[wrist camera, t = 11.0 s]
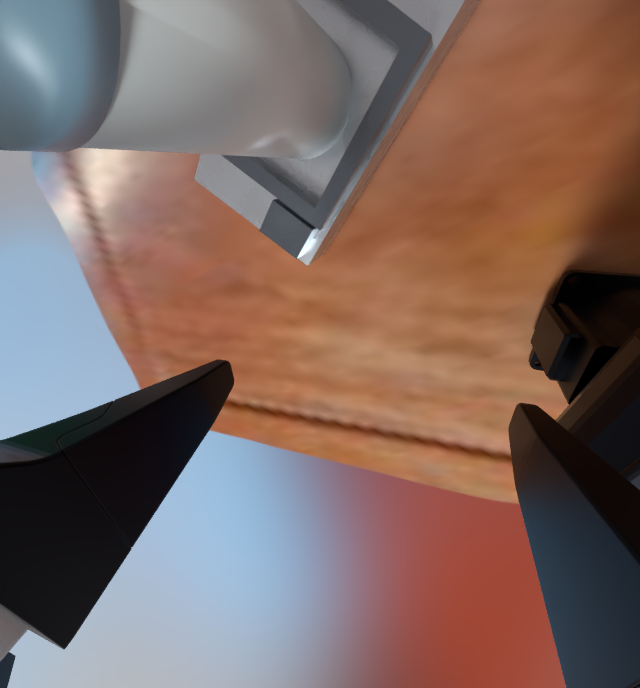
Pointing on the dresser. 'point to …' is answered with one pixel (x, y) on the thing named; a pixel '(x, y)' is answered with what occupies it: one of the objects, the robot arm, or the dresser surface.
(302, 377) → the dresser surface
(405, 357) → the dresser surface
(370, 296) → the dresser surface
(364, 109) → the digital kitchen scale
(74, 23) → the lidded container
